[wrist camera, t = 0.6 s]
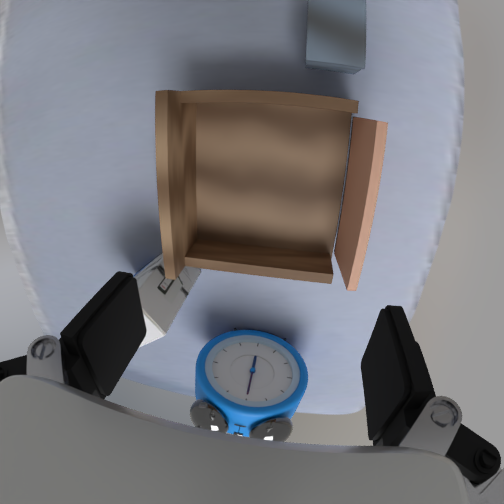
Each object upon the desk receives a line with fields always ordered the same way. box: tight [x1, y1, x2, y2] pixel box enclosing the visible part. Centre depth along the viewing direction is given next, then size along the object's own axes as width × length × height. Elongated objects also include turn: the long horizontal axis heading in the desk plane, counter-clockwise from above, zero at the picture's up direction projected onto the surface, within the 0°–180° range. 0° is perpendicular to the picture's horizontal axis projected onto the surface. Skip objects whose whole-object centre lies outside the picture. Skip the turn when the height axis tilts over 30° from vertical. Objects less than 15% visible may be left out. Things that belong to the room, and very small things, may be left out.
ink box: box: [133, 253, 201, 347], centre depth 31 cm, size 9×5×12 cm, turn 126°
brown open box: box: [155, 90, 359, 284], centre depth 25 cm, size 16×15×8 cm
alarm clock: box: [190, 328, 308, 442], centre depth 33 cm, size 13×6×15 cm, turn 82°
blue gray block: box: [306, 0, 366, 74], centre depth 19 cm, size 7×5×5 cm, turn 177°
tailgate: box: [334, 117, 388, 291], centre depth 23 cm, size 13×1×7 cm, turn 177°
